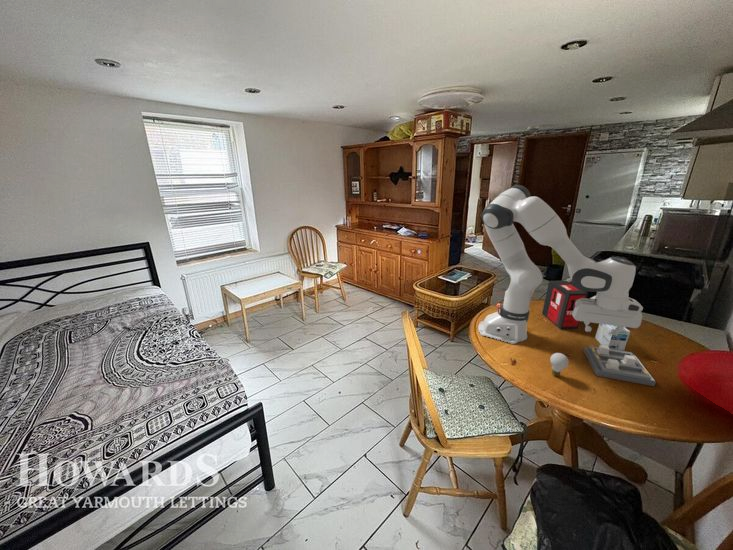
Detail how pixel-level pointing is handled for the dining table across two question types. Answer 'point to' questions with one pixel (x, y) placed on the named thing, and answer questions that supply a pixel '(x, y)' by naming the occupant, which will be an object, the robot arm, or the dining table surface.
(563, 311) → the cleaning product box
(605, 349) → the tab rear
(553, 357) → the light bulb
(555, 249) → the robot arm
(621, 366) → the switch bank
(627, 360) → the tab middle
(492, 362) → the dining table surface
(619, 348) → the light bulb box
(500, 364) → the dining table surface
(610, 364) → the tab front
